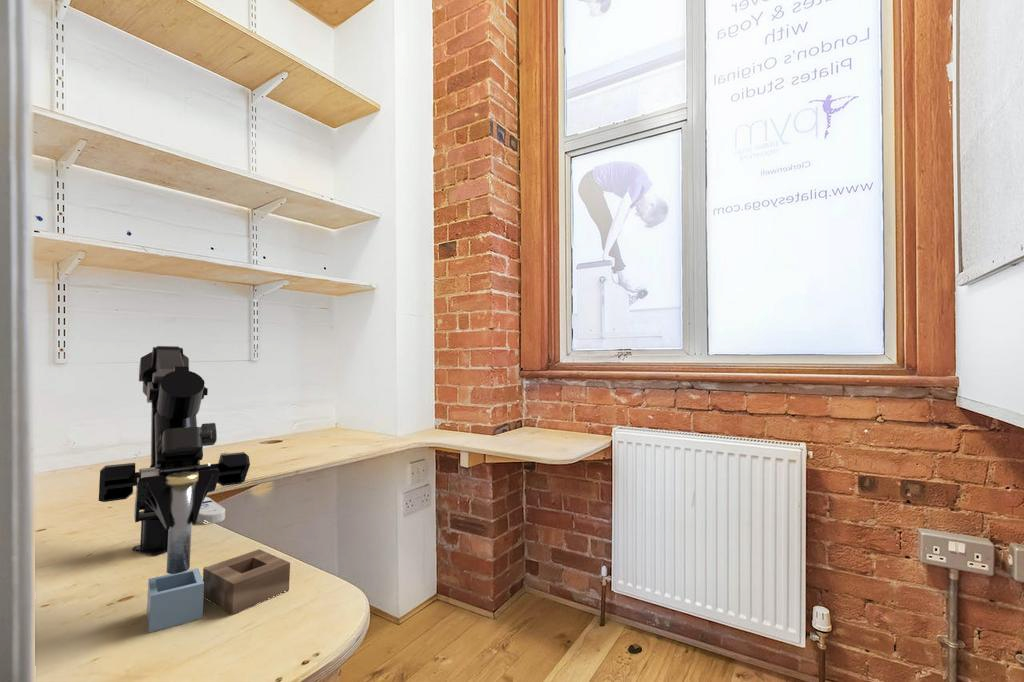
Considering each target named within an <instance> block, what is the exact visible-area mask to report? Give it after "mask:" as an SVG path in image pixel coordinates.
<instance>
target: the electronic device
mask: <svg viewBox="0 0 1024 682" xmlns="http://www.w3.org/2000/svg"><path fill="white" fill-rule="evenodd" d="M194 487H195V483H194V485H193V490H194ZM225 519H226V509H225V507H223V506H222V505H220V504H219V503H218V502H216V501H214V500H213V499H212V498H210V497H208V496H206V497H205V499H204V501H203V503H202V505H201V508H200V511H199V515H198V518H197V521H196V523H197V524H199V523H201V524H200V525H205V524H204V523H203V522H205V521H204V520H206V521H208V522H210V523H212V524H218V523H220V522H223V521H224V520H225ZM205 523H207V522H205Z"/></svg>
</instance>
